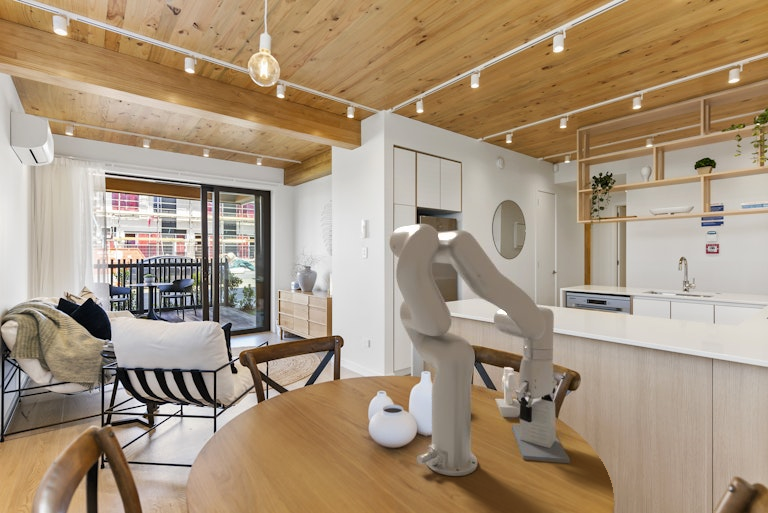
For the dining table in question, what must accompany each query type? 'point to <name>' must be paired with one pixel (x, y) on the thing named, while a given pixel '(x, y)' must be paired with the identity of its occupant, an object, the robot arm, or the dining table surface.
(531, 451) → the mat
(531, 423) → the small box
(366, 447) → the dining table surface
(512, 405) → the figurine
